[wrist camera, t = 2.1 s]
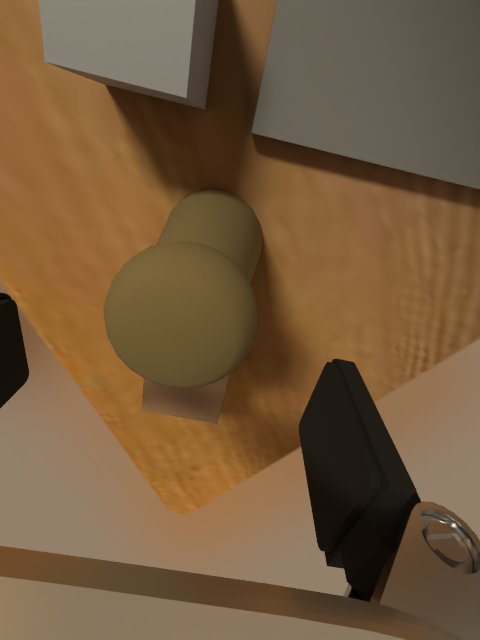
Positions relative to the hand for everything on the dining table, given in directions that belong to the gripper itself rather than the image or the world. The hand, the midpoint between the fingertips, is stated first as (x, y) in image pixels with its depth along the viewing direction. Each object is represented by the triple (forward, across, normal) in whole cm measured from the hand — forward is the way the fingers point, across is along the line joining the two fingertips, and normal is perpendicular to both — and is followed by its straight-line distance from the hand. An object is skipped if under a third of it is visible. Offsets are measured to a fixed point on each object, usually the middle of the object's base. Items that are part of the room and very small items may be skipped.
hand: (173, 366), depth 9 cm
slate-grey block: (+11, +4, -10) cm, 15 cm away
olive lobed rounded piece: (+11, 0, -1) cm, 11 cm away
